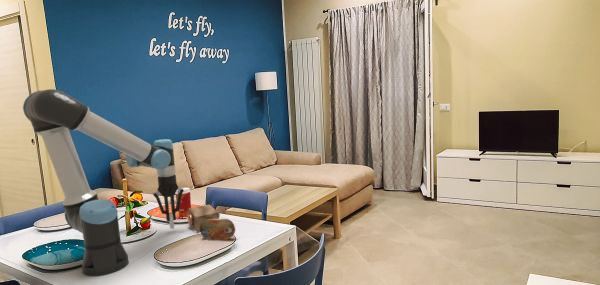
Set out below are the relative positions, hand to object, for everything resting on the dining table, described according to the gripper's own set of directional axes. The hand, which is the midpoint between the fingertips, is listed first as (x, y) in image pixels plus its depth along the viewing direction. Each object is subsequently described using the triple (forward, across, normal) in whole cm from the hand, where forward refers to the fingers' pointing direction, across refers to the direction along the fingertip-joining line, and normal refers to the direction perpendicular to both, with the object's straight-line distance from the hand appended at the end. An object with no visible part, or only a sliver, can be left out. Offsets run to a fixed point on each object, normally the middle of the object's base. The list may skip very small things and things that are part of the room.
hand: (172, 227), depth 180 cm
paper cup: (+2, -9, -19) cm, 21 cm away
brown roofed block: (+1, -14, 0) cm, 14 cm away
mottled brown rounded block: (+2, -15, +21) cm, 26 cm away
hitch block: (+2, -14, 0) cm, 14 cm away
